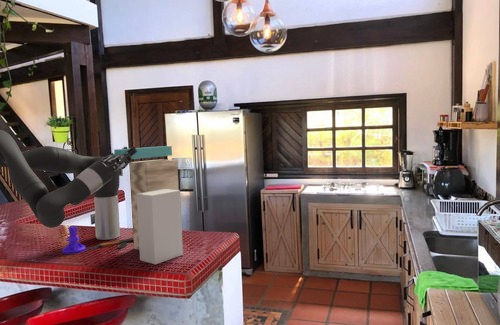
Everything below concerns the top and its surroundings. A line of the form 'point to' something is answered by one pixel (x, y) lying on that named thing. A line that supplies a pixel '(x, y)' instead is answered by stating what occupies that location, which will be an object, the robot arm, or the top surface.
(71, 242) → the figurine
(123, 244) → the toy rifle
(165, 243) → the white tall block
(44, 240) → the top surface
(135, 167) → the stand
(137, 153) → the teal long bar
